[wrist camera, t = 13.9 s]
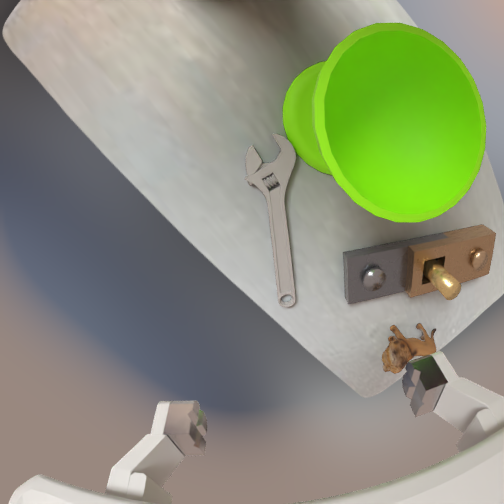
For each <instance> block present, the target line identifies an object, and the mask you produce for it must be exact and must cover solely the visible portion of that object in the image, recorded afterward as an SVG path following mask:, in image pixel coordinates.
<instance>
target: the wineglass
mask: <svg viewBox="0 0 504 504" xmlns="http://www.w3.org/2000/svg"><path fill="white" fill-rule="evenodd" d="M283 125H284V128H285V132H286V135H287V138H288V141H289V142H290V143H291V144H292V146H293V148H294V150H295V152H296V154H298V155H299V156H300V157H301V158H302V159H303V160H304V161H305V162H306V163H307V164H308V165H309V166H311V167H313V168H315V169H316V170H318V171H320V172H322V173H326V174H329V175H332V176H333V177H334V179H335V180H336V182H337V183H338V184H339V185H340V186H341V187H342V189H343V190H344V191H345V192H346V193H347V194H348V195H349V196H350V197H351V199H352V200H353V201H354V202H355V203H357V204H358V205H360V206H361V207H363V208H364V209H366V210H368V211H369V212H371V213H372V214H374V215H375V216H378V217H381V218H385V219H388V220H391V221H395V222H421V221H424V220H428V219H431V218H434V217H437V216H439V215H441V214H442V213H444V212H445V211H447V210H449V209H450V208H452V207H453V206H454V205H456V204H457V203H458V201H459V200H460V199H461V198H462V197H463V196H464V195H465V194H466V192H467V191H468V190H469V189H470V187H471V185H472V183H473V181H474V179H475V178H476V176H477V174H478V172H479V170H480V166H481V162H482V159H483V155H484V151H485V140H486V121H485V115H484V109H483V103H482V100H481V97H480V94H479V92H478V89H477V87H476V84H475V81H474V79H473V78H472V76H471V74H470V73H469V71H468V70H467V68H466V66H465V65H464V63H463V62H462V61H461V59H460V58H459V57H458V56H457V55H456V54H455V53H454V52H453V51H452V50H451V49H450V48H449V47H448V46H447V45H446V44H445V43H444V42H443V41H441V40H439V39H438V38H436V37H435V36H433V35H431V34H430V33H428V32H426V31H424V30H423V29H420V28H416V27H413V26H409V25H406V24H402V23H375V24H373V25H370V26H367V27H364V28H361V29H359V30H356V31H354V32H352V33H351V34H350V35H349V36H348V37H346V38H345V39H344V40H343V41H342V42H340V43H339V44H338V45H337V46H336V47H335V48H334V50H333V51H332V53H331V54H330V56H329V58H328V59H327V61H324V62H319V63H317V64H315V65H312V66H310V67H308V68H306V69H305V70H304V71H303V72H302V73H300V74H299V75H298V76H297V77H296V78H295V79H294V81H293V82H292V84H291V86H290V87H289V89H288V91H287V92H286V96H285V100H284V104H283Z"/></svg>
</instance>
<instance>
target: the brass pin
mask: <svg viewBox="0 0 504 504" xmlns="http://www.w3.org/2000/svg"><path fill="white" fill-rule="evenodd" d="M423 274H424V275H425V276H426V277H427V278H428V279H429V280H430V282H431V283H432V284H433V285H434V286H435V287H436V288H437V289H438V290H439V291H440V293H441V294H442V295H443V296H444V297H445V298H446V299H447V300H452V299H454V298H455V297H457V295H458V294H459V292H460V290H461V284H460V283H459V282H458V281H457V280H456V279H455V278H454V277H453V276H452V275H451V274H450V273H449V272H448V271H447V270H446V269H445V268H444V267H443V266H442V265H440V264H439V263H438V262H437V261H436V260H435V259H431V260H427V261H424V268H423Z"/></svg>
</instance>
